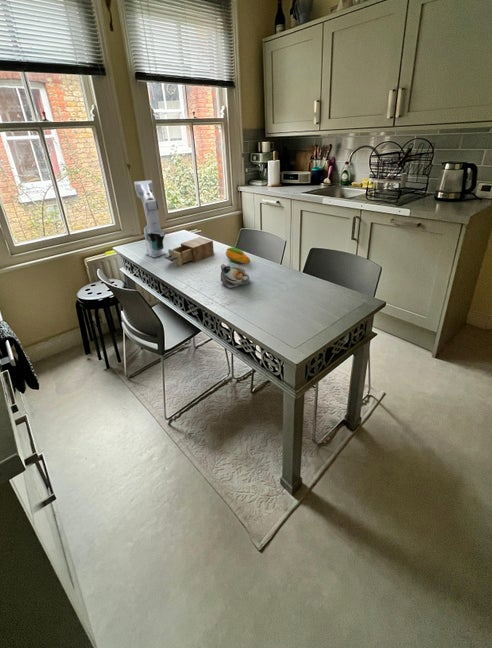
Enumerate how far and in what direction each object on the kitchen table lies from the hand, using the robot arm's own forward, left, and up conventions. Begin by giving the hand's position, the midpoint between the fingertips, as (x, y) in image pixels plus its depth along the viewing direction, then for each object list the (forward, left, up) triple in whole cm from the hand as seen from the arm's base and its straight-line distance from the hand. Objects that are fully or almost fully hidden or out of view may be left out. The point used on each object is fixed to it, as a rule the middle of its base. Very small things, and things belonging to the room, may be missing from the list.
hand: (157, 246), depth 175 cm
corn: (+35, +28, -10) cm, 46 cm away
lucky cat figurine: (+53, +7, -10) cm, 55 cm away
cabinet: (+10, +20, -10) cm, 24 cm away
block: (0, 0, -1) cm, 1 cm away
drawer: (+10, +8, -9) cm, 15 cm away
